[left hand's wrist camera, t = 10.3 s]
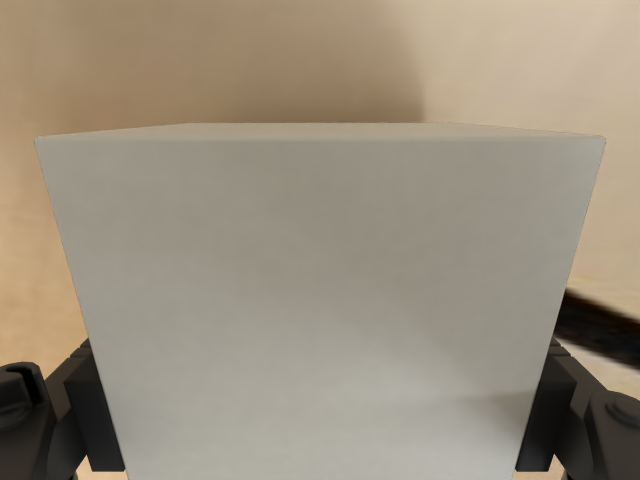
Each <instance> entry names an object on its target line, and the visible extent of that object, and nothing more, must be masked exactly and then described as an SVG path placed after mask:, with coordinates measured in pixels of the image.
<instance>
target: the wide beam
mask: <svg viewBox="0 0 640 480" xmlns="http://www.w3.org/2000/svg"><path fill="white" fill-rule="evenodd" d="M34 144H35V147H36V151H37V154H38V158H39V161H40V165H41V169H42V172H43V176H44V179H45V183H46V187H47V190H48V194H49V197H50V201H51V204H52V208H53V212H54V215H55V219H56V222H57V226H58V230H59V233H60V237H61V240H62V244H63V247H64V251H65V255H66V258H67V262H68V265H69V269H70V272H71V276H72V280H73V283H74V287H75V290H76V294H77V298H78V301H79V305H80V308H81V312H82V315H83V319H84V323H85V326H86V330H87V333H88V337H89V341H90V344H91V348H92V351H93V355H94V358H95V362H96V366H97V369H98V373H99V376H100V380H101V383H102V387H103V391H104V394H105V398H106V401H107V405H108V409H109V412H110V416H111V419H112V423H113V426H114V430H115V434H116V437H117V441H118V444H119V448H120V452H121V455H122V459H123V462H124V466H125V469H126V473H127V477H128V480H512V478H513V474H514V470H515V467H516V463H517V460H518V456H519V452H520V449H521V445H522V442H523V438H524V435H525V431H526V427H527V424H528V420H529V417H530V413H531V409H532V406H533V402H534V399H535V395H536V391H537V388H538V384H539V381H540V377H541V374H542V370H543V366H544V363H545V359H546V356H547V352H548V348H549V345H550V341H551V338H552V334H553V330H554V327H555V323H556V320H557V316H558V312H559V309H560V305H561V302H562V298H563V295H564V291H565V287H566V284H567V280H568V277H569V273H570V269H571V266H572V262H573V259H574V255H575V251H576V248H577V244H578V241H579V237H580V234H581V230H582V226H583V223H584V219H585V216H586V212H587V208H588V205H589V201H590V198H591V194H592V190H593V187H594V183H595V180H596V176H597V172H598V169H599V165H600V162H601V158H602V155H603V151H604V147H605V144H606V139H605V138H604V137H602V136H598V135H587V134H575V133H564V132H552V131H540V130H529V129H517V128H506V127H494V126H482V125H471V124H459V123H182V124H170V125H159V126H148V127H136V128H125V129H113V130H102V131H90V132H79V133H68V134H56V135H45V136H39V137H37V138H35V140H34Z"/></svg>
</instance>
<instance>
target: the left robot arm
mask: <svg viewBox="0 0 640 480" xmlns="http://www.w3.org/2000/svg"><path fill="white" fill-rule="evenodd" d="M554 454H555V455H556V457H557V458H558V460H559V461H560V462H561V464H562V465H563V467H564V468H565V470H564V473H563V476H562V479H561V480H640V401H639V400H637V399H635V398H633V397H630V396H628V395H625V394H622V393H619V392H614V391H608V390H607V389H606V388H605V387H604V386H603V385H602V384H601V383H600V382H599V381H598V380H597V379H596V378H595V377H594V376H593V375H592V374H591V373H590V372H588V371H587V370H586V369H585V368H584V367H583V366H582V365H581V364H580V363H579V362H578V361H577V360H576V359H575V358H574V357H571V354H570V353H569V352H568V351H567V350H566V349H565V348H564V347H561V344H560V343H559V342H558V341H557V340H556V339H555V338H553V337H552V338H551V341H550V345H549V348H548V352H547V356H546V359H545V363H544V366H543V370H542V374H541V377H540V381H539V384H538V388H537V391H536V395H535V399H534V402H533V406H532V409H531V413H530V417H529V420H528V424H527V427H526V431H525V435H524V438H523V442H522V445H521V449H520V452H519V456H518V460H517V463H516V467H515V469H516V471H517V472H548V471H549V467H550V464H551V461H552V458H553V455H554ZM86 455H87V457H88V460H89V463H90V466H91V469H92V472H124V470H125V466H124V462H123V459H122V455H121V452H120V448H119V444H118V441H117V437H116V434H115V430H114V426H113V423H112V419H111V416H110V412H109V409H108V405H107V401H106V398H105V394H104V391H103V387H102V383H101V380H100V376H99V373H98V369H97V366H96V362H95V358H94V355H93V351H92V348H91V344H90V341H89V337H88V338H87V339H86V340H85V341H84V342H83V343H82V344H81V345H80V348H77V349H76V350H75V351H74V352H73V353H72V354H71V355H70V358H67V359H66V360H65V361H64V362H63V363H62V364H61V365H60V366H59V367H58V368H57V369H56V370H55V371H54V372H53V373H52V374H51V375H50V376H49V377H48V378H46V379H45V380H44V379H43V376H42V373H41V370H40V368H39V366H38V365H36V364H35V363H33V362H18V363H12V364H7V365H4V366H1V367H0V480H78V476H77V473H76V469H77V468H78V466H79V465H80V463H81V462H82V460H83V459H84V458H85V456H86Z"/></svg>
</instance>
